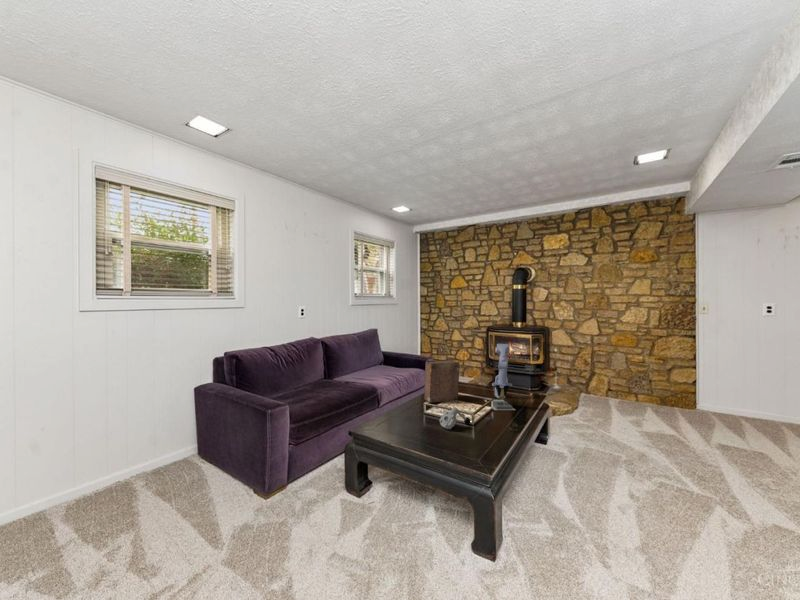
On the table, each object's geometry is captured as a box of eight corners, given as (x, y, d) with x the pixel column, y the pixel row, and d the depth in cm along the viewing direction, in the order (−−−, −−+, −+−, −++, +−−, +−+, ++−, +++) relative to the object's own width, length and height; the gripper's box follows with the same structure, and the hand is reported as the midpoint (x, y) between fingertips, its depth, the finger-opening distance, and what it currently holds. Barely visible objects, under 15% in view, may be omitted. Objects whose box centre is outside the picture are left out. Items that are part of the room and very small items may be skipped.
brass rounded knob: (497, 397, 251) (498, 387, 251) (502, 397, 251) (503, 387, 251) (500, 399, 247) (500, 388, 247) (505, 399, 247) (505, 388, 247)
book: (451, 396, 271) (453, 359, 270) (458, 399, 263) (459, 361, 262) (424, 399, 261) (425, 361, 260) (429, 403, 252) (431, 363, 251)
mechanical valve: (436, 421, 212) (450, 402, 215) (452, 435, 219) (466, 416, 222) (445, 428, 202) (460, 408, 206) (461, 443, 210) (476, 423, 213)
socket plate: (483, 400, 263) (483, 397, 263) (503, 400, 265) (503, 397, 265) (494, 411, 241) (494, 407, 241) (515, 411, 243) (515, 407, 243)
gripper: (495, 378, 244) (494, 397, 244) (514, 379, 245) (513, 397, 246) (491, 376, 251) (490, 394, 251) (510, 376, 252) (509, 394, 253)
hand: (501, 395), depth 249 cm, fingers closed on brass rounded knob, 4 cm apart
